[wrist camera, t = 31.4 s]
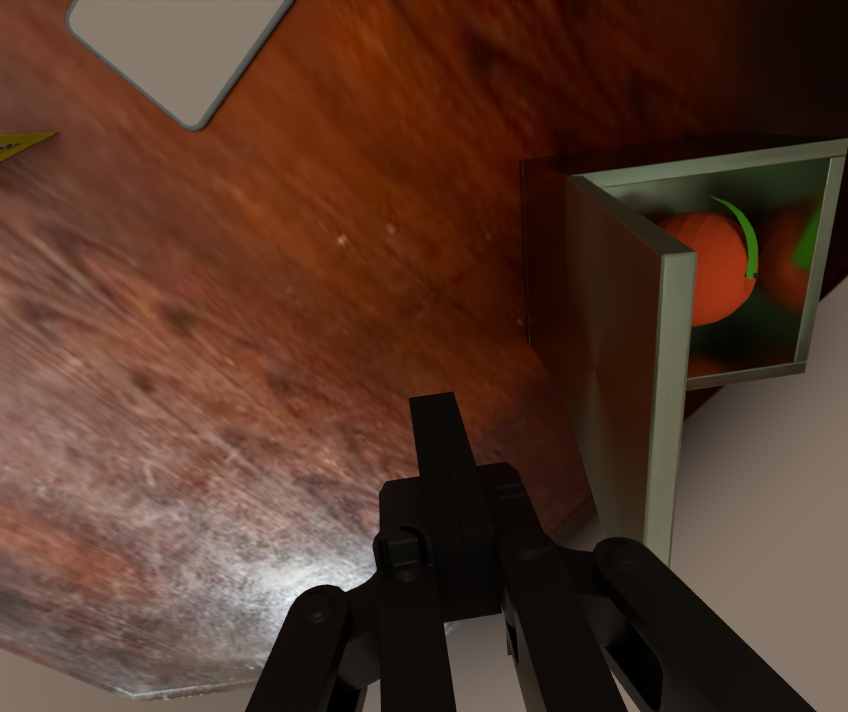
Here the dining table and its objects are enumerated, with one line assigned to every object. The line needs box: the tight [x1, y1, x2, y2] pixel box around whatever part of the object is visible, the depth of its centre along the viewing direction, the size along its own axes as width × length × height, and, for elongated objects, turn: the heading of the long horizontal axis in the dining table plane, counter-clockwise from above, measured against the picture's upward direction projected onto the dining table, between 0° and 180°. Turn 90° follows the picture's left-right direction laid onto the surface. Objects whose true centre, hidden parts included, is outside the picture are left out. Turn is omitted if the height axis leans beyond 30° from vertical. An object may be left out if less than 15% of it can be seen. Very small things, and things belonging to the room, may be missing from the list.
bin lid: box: [565, 176, 698, 569], centre depth 21 cm, size 14×13×1 cm
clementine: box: [657, 196, 759, 326], centre depth 33 cm, size 8×7×7 cm
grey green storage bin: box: [519, 133, 848, 400], centre depth 33 cm, size 14×13×10 cm
